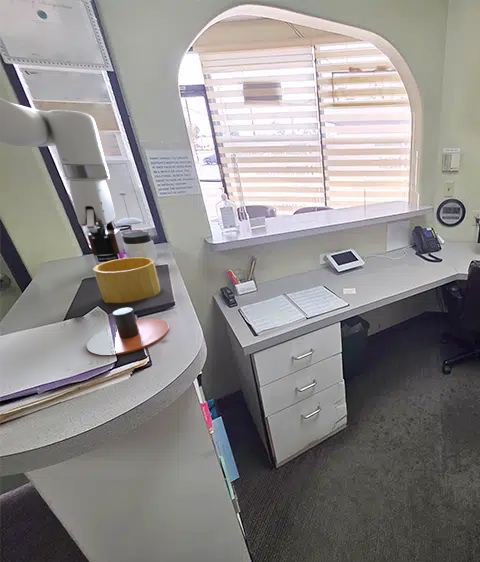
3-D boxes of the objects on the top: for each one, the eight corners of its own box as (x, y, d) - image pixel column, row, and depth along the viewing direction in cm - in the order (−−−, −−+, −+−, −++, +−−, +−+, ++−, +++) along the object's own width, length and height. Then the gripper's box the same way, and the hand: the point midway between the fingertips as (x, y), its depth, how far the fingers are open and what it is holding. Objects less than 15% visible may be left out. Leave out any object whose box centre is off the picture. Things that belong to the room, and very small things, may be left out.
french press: (149, 257, 123) (133, 193, 114) (113, 260, 119) (94, 193, 110) (156, 251, 132) (141, 190, 122) (123, 252, 128) (105, 190, 119)
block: (93, 255, 73) (87, 234, 71) (100, 250, 77) (94, 230, 75) (119, 253, 75) (114, 233, 73) (124, 248, 79) (119, 229, 77)
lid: (77, 365, 61) (64, 335, 59) (98, 329, 74) (89, 303, 71) (166, 348, 68) (158, 319, 65) (172, 317, 80) (166, 293, 78)
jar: (126, 270, 109) (117, 237, 105) (132, 263, 116) (123, 232, 112) (156, 268, 113) (149, 236, 108) (160, 261, 120) (153, 231, 115)
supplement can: (114, 262, 117) (102, 222, 112) (132, 264, 116) (121, 224, 110) (91, 269, 110) (78, 227, 104) (111, 271, 108) (98, 229, 103)
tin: (97, 308, 84) (86, 275, 80) (110, 289, 95) (101, 260, 91) (157, 299, 89) (149, 269, 86) (162, 283, 101) (156, 255, 97)
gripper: (79, 170, 75) (100, 243, 82) (48, 175, 61) (77, 262, 67) (117, 171, 78) (135, 241, 85) (96, 175, 64) (119, 259, 71)
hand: (109, 250), depth 76 cm, fingers closed on block, 5 cm apart
